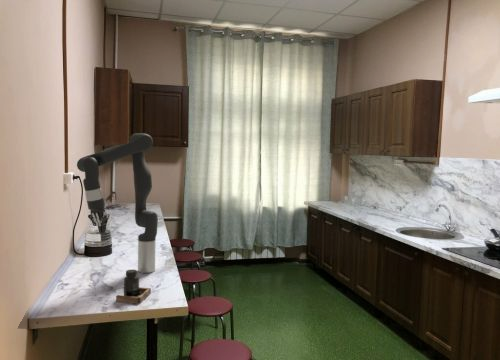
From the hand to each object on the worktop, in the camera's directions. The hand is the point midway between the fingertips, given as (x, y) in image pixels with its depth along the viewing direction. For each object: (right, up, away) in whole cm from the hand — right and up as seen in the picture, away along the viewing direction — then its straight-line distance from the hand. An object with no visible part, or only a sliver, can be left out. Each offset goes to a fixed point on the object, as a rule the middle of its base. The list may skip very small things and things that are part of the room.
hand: (102, 232), depth 186 cm
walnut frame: (+18, -28, -12) cm, 35 cm away
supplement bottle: (+17, -28, -11) cm, 35 cm away
